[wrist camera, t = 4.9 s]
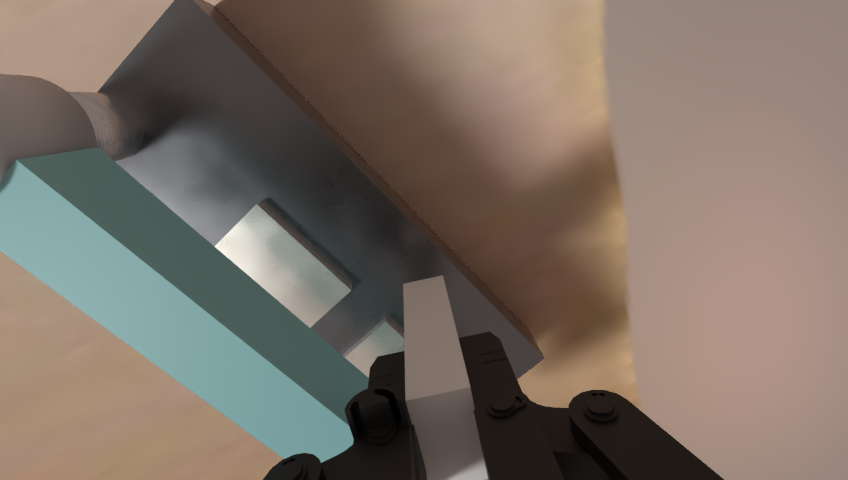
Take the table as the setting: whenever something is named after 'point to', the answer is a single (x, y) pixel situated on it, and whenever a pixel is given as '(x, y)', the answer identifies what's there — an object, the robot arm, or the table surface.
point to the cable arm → (161, 279)
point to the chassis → (280, 189)
